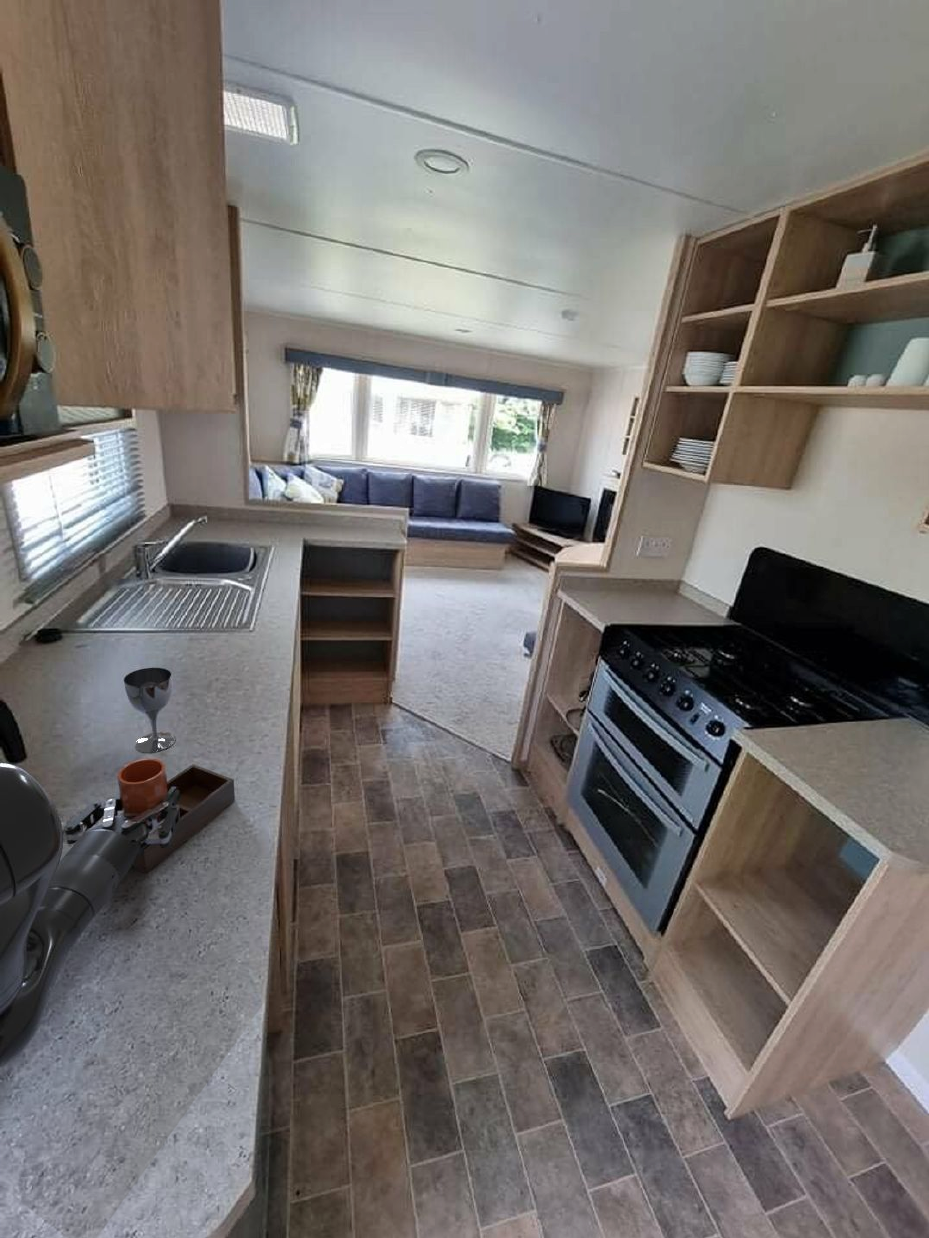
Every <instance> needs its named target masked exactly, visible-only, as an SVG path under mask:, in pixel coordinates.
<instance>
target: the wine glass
mask: <svg viewBox="0 0 929 1238" xmlns="http://www.w3.org/2000/svg"><path fill="white" fill-rule="evenodd" d="M123 685H124V692H125V695H126V698H127V701H128V702H129V705H130V706H131V708H133V709H134V710H135V711H136V712H138V713H140V714H142V715H144V716H145V717H146V718H147V719H148V720H149V724H150V726H151V727H150V728H151V733H148V734H145V735H146V736H145V735H143V736H142V737H140V738H141V739H140V738H139V739H138V740H137V741H138V743H136V742H135V744H136V745H134V747H135V749H136V750H137V751H138V750H139V751H138V752H141V753H145V754H146V753H148V754H149V753H151V752H152V753H157V752H156V751H157V750H158V752H161V751H160V750H161V749H163V748H164V747H168V746H169V744H170V743H171V742H170V741H174V738H173V737H172V736H171V734H172V733H171V734H169V733H170V732H168V733H163V732H164V731H159V732H160V733H157V732H158V731H157V721H158V716H159V714H160V713H161V712H162V711H163V710H164V709H165V707H166V706H168V704H169V703H170V702H171V701H170V700H171V698H172V692H173V675H172V672H171V671H170V670H169V669H167V668H162V667H146V668H140V669H137V670H133V671H131V672H129V673H128V674H127V675H125V676H124V678H123ZM170 745H171V744H170ZM137 748H138V749H137Z"/></svg>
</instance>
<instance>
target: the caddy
mask: <svg viewBox="0 0 929 1238" xmlns="http://www.w3.org/2000/svg"><path fill="white" fill-rule="evenodd" d="M167 787H168V791H169V790H170V788H171V787H177V788H178V790H179V794H180V800H179V801H178V803H177V804H176V805H178V806H179V810H180V819H181V820H180V822H179V825H178V827H177V829H176V831H175V834H174V836H173V838H172V840H171V843H170V845H169V846H168V847H166V848H161V847H160V843H158V844H148V845H147V846H146V847H145V848H143V849H142V850H140V851H139V853H138V854H137V856H136V859H135V861H134V862H133V864H132V866H131V867H132V868H133V869H136V870H139V871H140V872H142V873H144V874H149V873H150V872H151V871H152V870H153V869H154V868H156V867H157V866H159V864H161V863H162V862H163V861H164V860H165V859H167V858H168V857H169V856H170V855H171V854H173V853H174V852H175V851H176V850H177V849H179V848H180V847H181V846H182V845H183V844H185V843H186V842H187V841H188V840H190V839H191V838H192V837H193V836H194V835H195V834H197V833H198V832H199V831H200V830H201V829H203V828H204V827H205V826H206V825H207V824H209V822H211V821H212V820H213V819H214V818H215V817H217V816H218V815H219V814H220V813H222V812H223V811H224V810H225V809H227V807H229V806H230V805H231V804H232V803H234V802H235V801H236V795H235V794H236V793H235V780H234V779H233V778H230V777H228V776H226V775H223V774H220V773H218V772H215V771H212V770H211V769H207V768H204V767H202V766H199V765H197V764H195V763H192V764H191V765H190V766H188V767H186V768H185V769H184V770H182V771H180V772H179V773H178V774H176V775H175V776H173V777H172V778H170V779H169V780H167ZM118 815H123V811H121V812H120V813H118Z"/></svg>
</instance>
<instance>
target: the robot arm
mask: <svg viewBox="0 0 929 1238" xmlns="http://www.w3.org/2000/svg"><path fill="white" fill-rule="evenodd" d="M179 800H180V794H179V790H178V788H177V787H171V788H170V790H169V791H168V793H167V794H166V796H165V797H164V798H163V799H162V801H161V803H160V804H159V805H157V806H156V807H154V808H153V809H147V810H145V811H144V812H142V813H141V814H139V815H133V816H126V815H119V812H123V811H122V805H121V798H120V792H119V790H118V791H117V792H116V794H115V795H114V796H113V797H112V798H110V799H108V800H107V801H106V802H103V803H101V801H98V800H97V801H94V802H92V803H91V804H89V805H88V806H87V807H86V808H85V809H83V811H82V812H80V813H79V814H78V815H77V816H76V817H75V818H73V820H72V821H71V822H69V823H68V824H67V825H66V826H65V827H64V831H63V824H62V821H61V819H60V815H59V812H58V810H57V808H56V805H55V804H54V802H53V800H52V798H51V797H50V795H49V793H48V792H47V791H46V790H45V789H44V788H43V786H42V785H41V784H40V782H38V781H37V779H36V778H34V776H32V775H31V774H30V773H29V772H27V771H26V770H24V769H23V768H21V767H19V766H17V765H15V764H11V763H2V762H0V1068H2V1067H4V1066H6V1065H7V1064H9V1063H10V1062H12V1061H13V1060H14V1059H16V1058H17V1057H18V1056H19V1055H21V1053H22V1052H23V1051H24V1050H25V1049H26V1048H27V1047H28V1046H29V1044H31V1042H32V1040H33V1039H34V1037H35V1035H36V1034H37V1031H38V1030H39V1028H40V1025H41V1022H42V1021H43V1018H44V1015H45V1012H46V1009H47V1006H48V1003H49V1001H50V997H51V994H52V992H53V990H54V987H55V983H56V981H57V978H58V976H59V974H60V972H61V970H62V968H63V965H64V963H65V961H66V960H67V958H68V956H69V954H70V952H71V951H72V949H73V948H74V946H75V945H76V943H77V942H78V941H79V939H80V937H82V935H83V933H85V930H86V929H87V927H88V926H89V924H90V923H91V922H92V921H93V919H94V918H95V917H96V915H97V914H98V913H99V912H100V911H101V910H102V909H103V908H104V906H105V905H106V904H107V902H108V900H110V897H111V896H112V895H113V893H114V892H115V891H116V889H117V887H118V886H119V885H120V883H121V882H122V880H123V879H124V878H125V876H126V874H127V873H128V871H129V870H130V869H131V867H132V864H133V862H134V861H135V859H136V856H137V854H138V853H139V851H140V850H142V849H143V848H145V847H146V846H147V845H148V844H158V843H160V847H161V848H166V847H168V846H169V845H170V843H171V840H172V838H173V836H174V834H175V831H176V829H177V827H178V825H179V822H180V820H181V819H180V810H179V806H178V805H176V804H177V803H178V801H179ZM159 813H161V815H159V816H158V817H157V815H158V814H159ZM101 819H102V822H100V823H98V822H99V821H100V820H101ZM145 820H147V826H146V823H145ZM97 823H98V824H97ZM161 823H163V824H162V826H159V825H160V824H161ZM157 828H158V829H157ZM154 831H155V832H154ZM153 832H154V833H153ZM151 833H152V834H151ZM64 834H65V835H64ZM64 836H65V840H66V843H67V845H72V846H71V848H70V849H69V850H68V851H67V853H66V854H65V855H64V856H63V857H62V854H63V849H64Z"/></svg>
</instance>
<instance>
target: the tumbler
mask: <svg viewBox="0 0 929 1238" xmlns="http://www.w3.org/2000/svg"><path fill="white" fill-rule="evenodd" d="M166 771H167V770H166V764H165V763H164V762H163V761H162V760H160V759H157V758H144V759H143V758H142V759H137V760H135V761H132V762H129V763H127V764H126V765H124V766H122V768H121V769H120V770H119V771H118V772H117V777H116V778H117V785H118V791H119V792H120V798H121V805H122V811H121V812H123V815H126V816H133V815H139V814H141V813H142V812H144V811H145V810H147V809H153V808H154V807H156V806H157V805H159V804H160V803H161V801H162V799H163V798H164V797H165V796H166V794H167V793H168V787H167V781H168V779H167V772H166ZM159 815H161V813H159V814H158V815H157V817H158V816H159ZM145 823H146V826H147V820H145ZM162 824H163V823H161V824H160V825H159V826H162ZM157 829H158V828H157ZM154 832H155V831H154ZM154 832H153V833H154ZM151 834H152V833H151Z"/></svg>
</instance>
